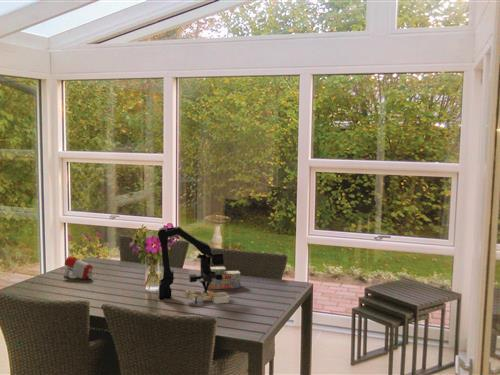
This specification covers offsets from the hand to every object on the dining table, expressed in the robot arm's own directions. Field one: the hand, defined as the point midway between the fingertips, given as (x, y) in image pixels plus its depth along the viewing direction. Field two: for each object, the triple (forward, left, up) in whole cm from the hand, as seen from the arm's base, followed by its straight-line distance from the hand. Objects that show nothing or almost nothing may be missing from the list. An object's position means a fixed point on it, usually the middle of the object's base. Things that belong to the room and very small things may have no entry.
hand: (205, 291), depth 297 cm
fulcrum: (-6, -9, -3) cm, 11 cm away
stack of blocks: (+13, +16, -3) cm, 21 cm away
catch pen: (+6, -9, -3) cm, 11 cm away
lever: (-6, -5, 0) cm, 8 cm away
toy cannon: (-72, +53, -3) cm, 89 cm away
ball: (+1, -9, +1) cm, 9 cm away
